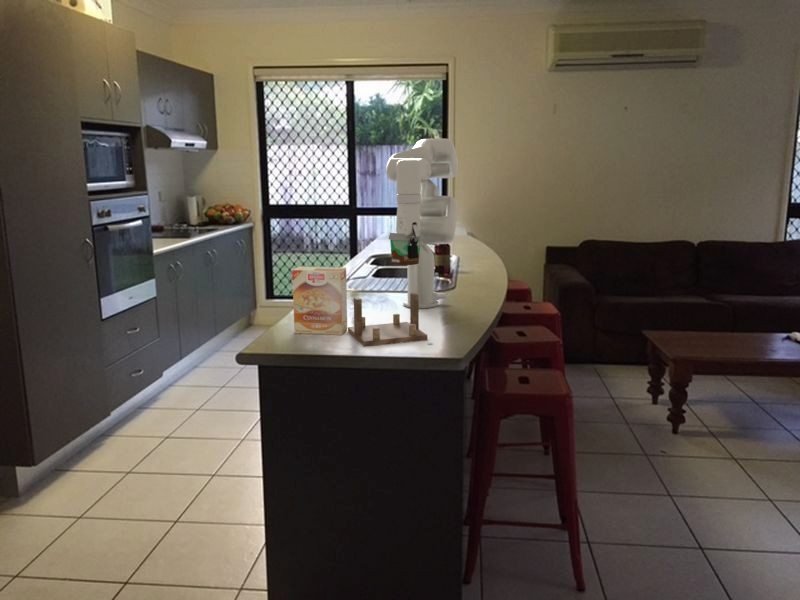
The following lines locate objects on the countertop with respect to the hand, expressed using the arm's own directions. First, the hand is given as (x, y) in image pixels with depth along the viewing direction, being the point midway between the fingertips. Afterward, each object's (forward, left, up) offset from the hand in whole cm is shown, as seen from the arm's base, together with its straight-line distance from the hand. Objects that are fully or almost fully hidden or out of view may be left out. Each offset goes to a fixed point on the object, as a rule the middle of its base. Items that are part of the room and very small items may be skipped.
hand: (409, 256), depth 211 cm
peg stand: (+13, +16, -21) cm, 30 cm away
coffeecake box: (+30, +4, -21) cm, 37 cm away
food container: (0, +1, -3) cm, 3 cm away
